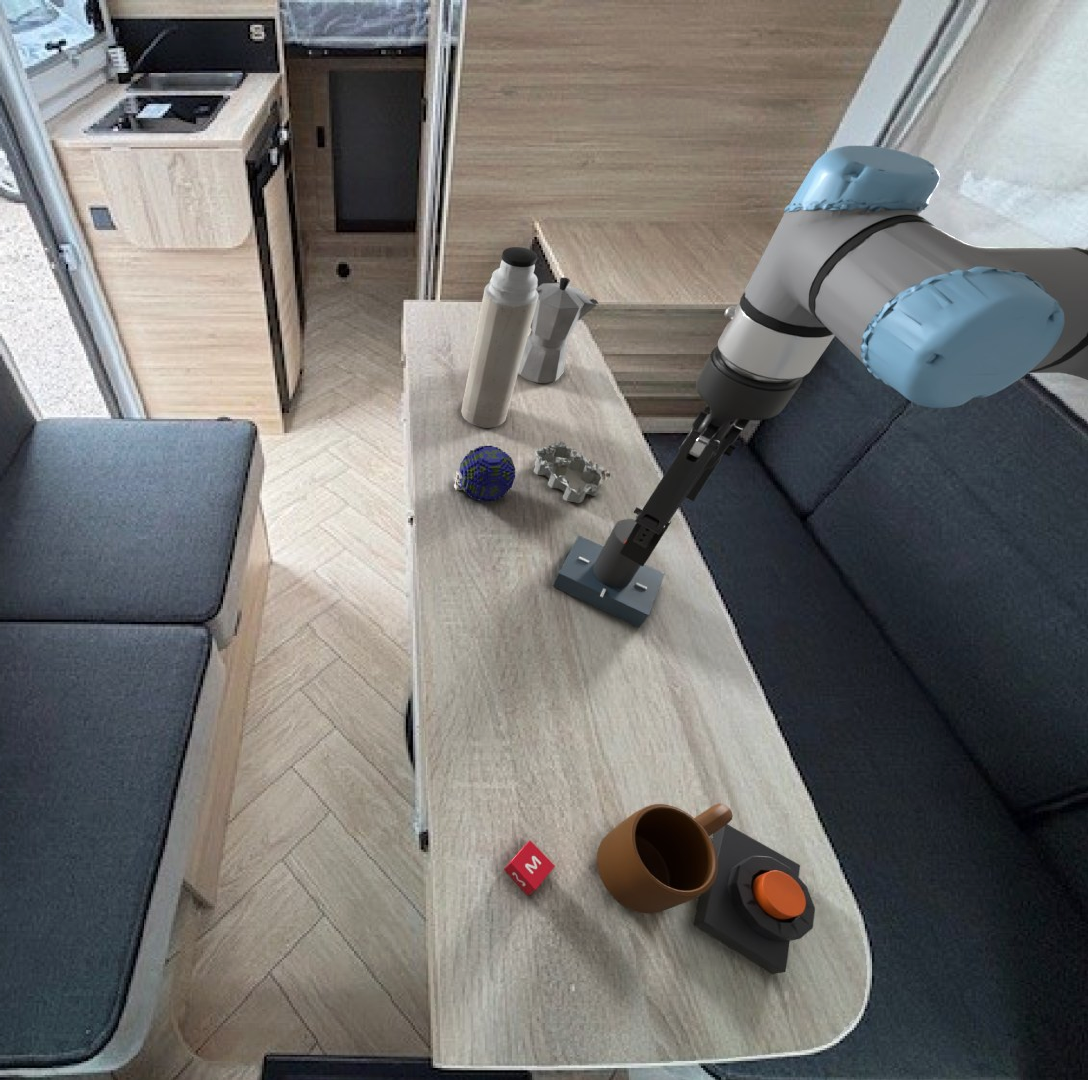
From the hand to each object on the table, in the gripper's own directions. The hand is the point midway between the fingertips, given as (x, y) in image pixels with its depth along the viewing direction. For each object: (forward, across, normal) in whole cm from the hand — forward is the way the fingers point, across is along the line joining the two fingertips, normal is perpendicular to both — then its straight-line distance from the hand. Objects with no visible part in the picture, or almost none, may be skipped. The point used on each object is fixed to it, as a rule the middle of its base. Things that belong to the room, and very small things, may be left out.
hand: (659, 524), depth 67 cm
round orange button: (+12, +23, +27) cm, 37 cm away
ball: (+16, -5, -25) cm, 30 cm away
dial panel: (+16, -2, -2) cm, 16 cm away
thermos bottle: (+15, -21, -36) cm, 44 cm away
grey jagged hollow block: (+16, -16, -17) cm, 28 cm away
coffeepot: (+15, -39, -37) cm, 56 cm away
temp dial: (+13, -2, -2) cm, 13 cm away
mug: (+16, +26, +18) cm, 35 cm away
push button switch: (+16, +23, +26) cm, 38 cm away
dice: (+16, +35, +9) cm, 40 cm away
